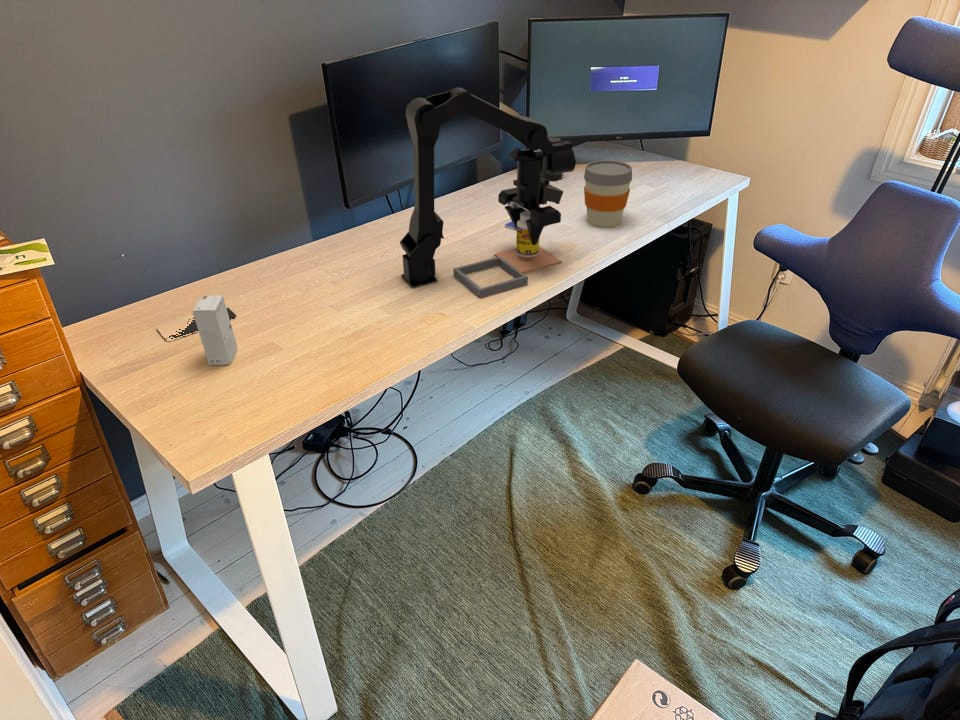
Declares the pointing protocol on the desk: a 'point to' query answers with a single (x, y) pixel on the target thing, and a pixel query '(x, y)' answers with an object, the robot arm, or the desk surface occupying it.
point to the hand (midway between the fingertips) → (527, 240)
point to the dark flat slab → (193, 326)
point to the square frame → (496, 288)
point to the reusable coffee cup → (606, 192)
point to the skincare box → (215, 330)
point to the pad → (529, 260)
